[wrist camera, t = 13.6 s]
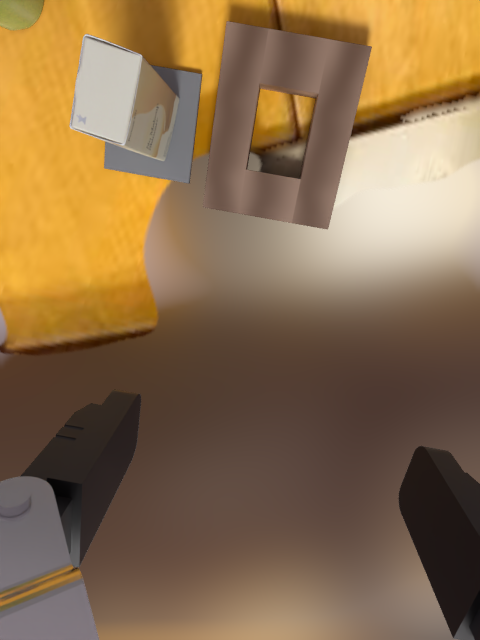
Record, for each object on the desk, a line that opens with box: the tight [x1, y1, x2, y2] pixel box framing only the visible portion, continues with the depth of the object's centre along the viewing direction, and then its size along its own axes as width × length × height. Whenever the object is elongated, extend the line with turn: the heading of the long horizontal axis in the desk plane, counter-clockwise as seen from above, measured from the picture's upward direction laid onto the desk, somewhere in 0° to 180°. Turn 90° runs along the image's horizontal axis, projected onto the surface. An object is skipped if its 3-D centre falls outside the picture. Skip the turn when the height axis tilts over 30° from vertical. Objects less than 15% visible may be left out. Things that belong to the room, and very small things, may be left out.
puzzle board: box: [203, 21, 372, 229], centre depth 37 cm, size 13×16×2 cm
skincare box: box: [70, 34, 179, 161], centre depth 32 cm, size 6×4×12 cm
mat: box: [104, 65, 202, 183], centre depth 38 cm, size 9×10×1 cm
